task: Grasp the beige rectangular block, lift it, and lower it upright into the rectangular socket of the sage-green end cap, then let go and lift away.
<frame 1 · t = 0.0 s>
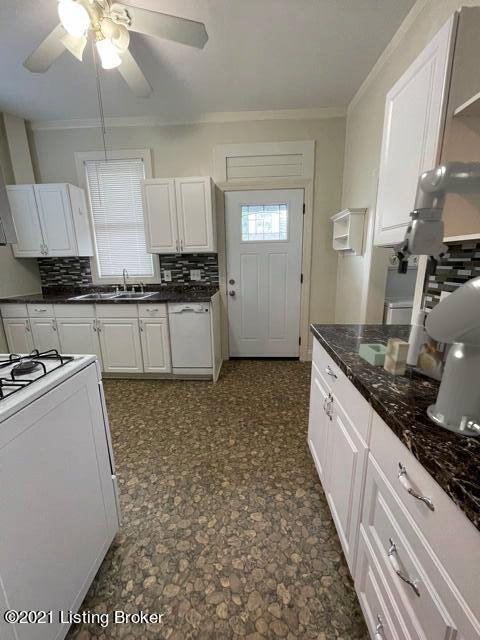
hand: (416, 273, 84), 37 cm above the worktop, tool pointing down, fingers open, 9 cm apart
coffee box: (431, 375, 98), on the worktop
beige rectangular block: (393, 371, 100), on the worktop
end cap: (376, 359, 110), on the worktop
cosmetic bottle: (410, 362, 109), on the worktop
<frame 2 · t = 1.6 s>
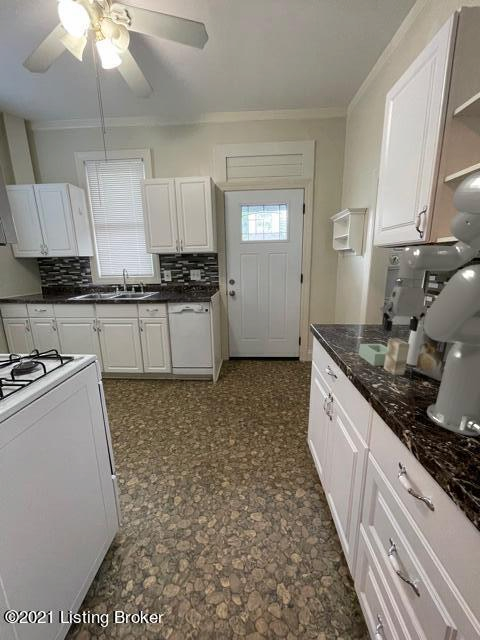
hand: (399, 330, 96), 16 cm above the worktop, tool pointing down, fingers open, 9 cm apart
nothing on the worktop moved.
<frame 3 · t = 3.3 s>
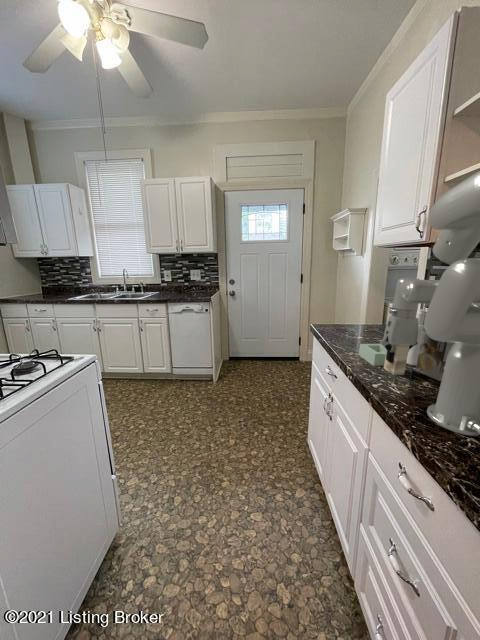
hand: (395, 360, 99), 4 cm above the worktop, tool pointing down, fingers closed on beige rectangular block, 4 cm apart
beige rectangular block: (393, 371, 100), on the worktop, touching gripper
everything else where it was.
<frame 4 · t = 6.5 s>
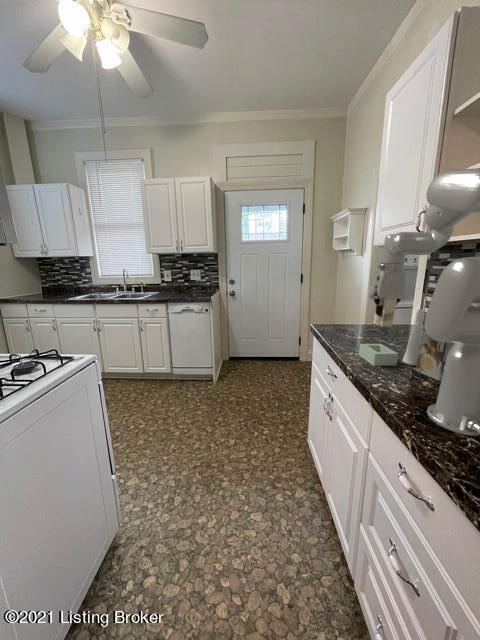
hand: (384, 314, 105), 19 cm above the worktop, tool pointing down, fingers closed on beige rectangular block, 4 cm apart
beige rectangular block: (382, 324, 107), point 15 cm above the worktop, touching gripper
everything else where it was.
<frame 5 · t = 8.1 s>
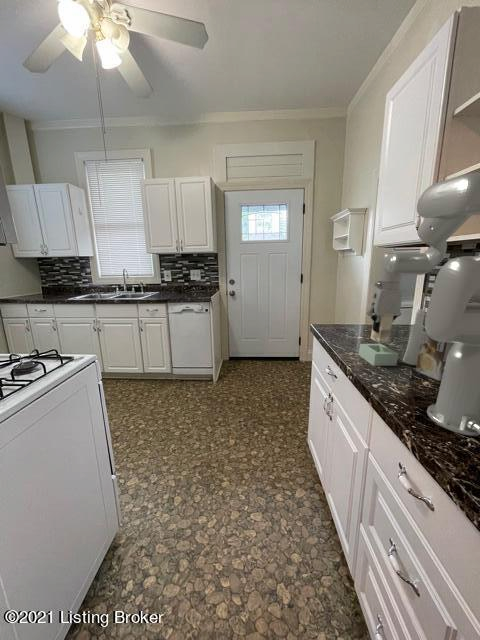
hand: (381, 330, 107), 13 cm above the worktop, tool pointing down, fingers closed on beige rectangular block, 4 cm apart
beige rectangular block: (379, 340, 108), point 8 cm above the worktop, touching gripper
everything else where it was.
when the fingers open (7 cm above the worktop, at t = 9.7 s): beige rectangular block drops 1 cm, resting on end cap.
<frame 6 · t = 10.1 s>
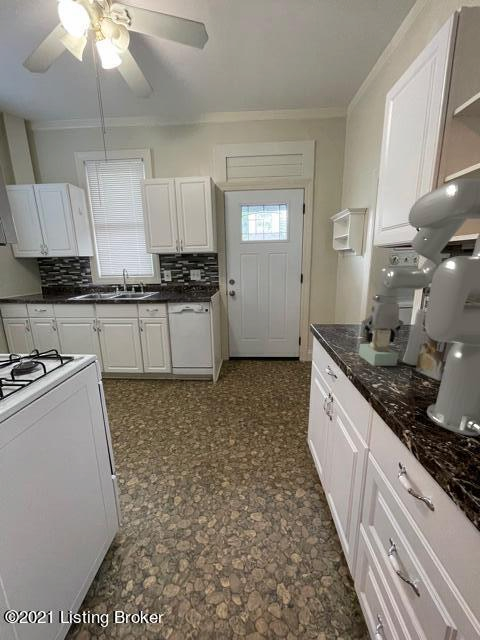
hand: (379, 341, 108), 8 cm above the worktop, tool pointing down, fingers open, 8 cm apart
beige rectangular block: (377, 356, 110), point 1 cm above the worktop, touching end cap
everything else where it was.
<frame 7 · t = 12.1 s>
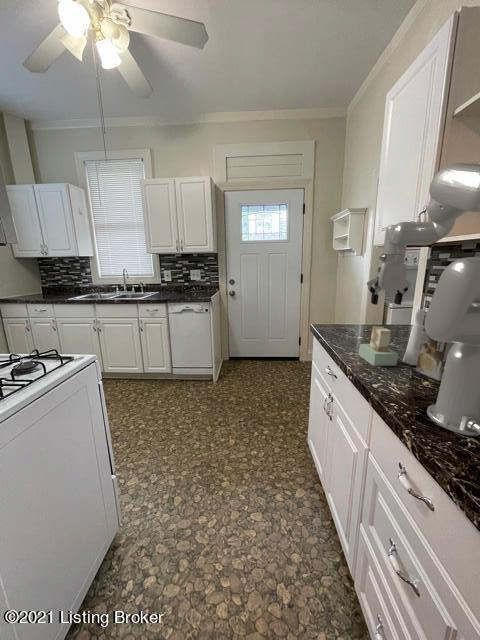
hand: (385, 304, 104), 24 cm above the worktop, tool pointing down, fingers open, 9 cm apart
nothing on the worktop moved.
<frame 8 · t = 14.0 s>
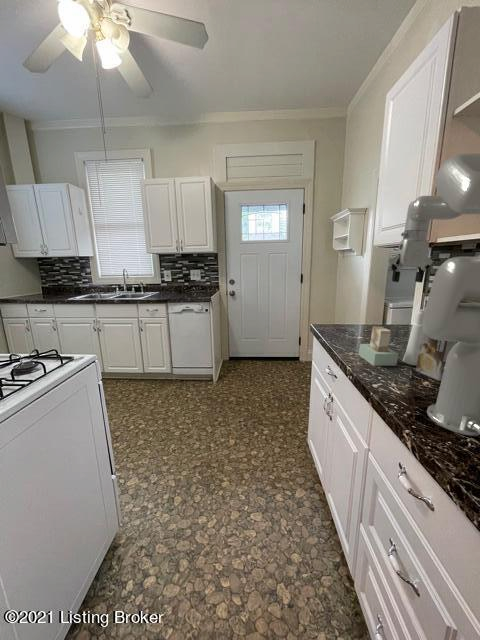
hand: (406, 281, 104), 32 cm above the worktop, tool pointing down, fingers open, 9 cm apart
nothing on the worktop moved.
at the end: beige rectangular block 0.1 cm off-centre on the end cap, point 1.5 cm above the end cap's base; beige rectangular block tilted 0°; the gripper is holding nothing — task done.
